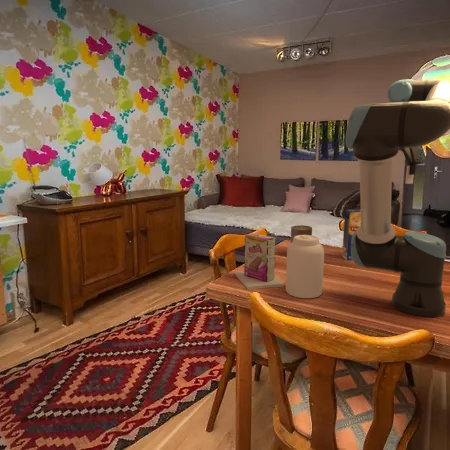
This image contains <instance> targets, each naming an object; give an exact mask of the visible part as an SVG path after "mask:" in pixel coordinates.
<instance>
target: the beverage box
mask: <svg viewBox="0 0 450 450" xmlns="http://www.w3.org/2000/svg"><path fill="white" fill-rule="evenodd" d="M343 222H344V223H343V234H342V235H343V236H342V252H341V257H342V258H343V259H345V261H348V262H349V261H353V259H352V255H351V239H352V236H353V233H354V232H355V231H357V229H358V228H359V227H360V226H361V209H344V221H343ZM353 262H354V261H353Z"/></svg>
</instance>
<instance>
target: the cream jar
mask: <svg viewBox="0 0 450 450" xmlns="http://www.w3.org/2000/svg"><path fill="white" fill-rule="evenodd" d="M324 263H325V249H324V246H323V245H322V244H321V242H320V239H319V237H317V236H315V235H313V234H312V235H297V236H295V237H294V238H293V242H292V243H291V242H290V243H289V244H288V246H287V249H286V266H285V267H286V269H285V271H286V274H285V291H286V293H287V294H288V295H290V296H292V297H295V298H299V299H315V298H318V297H320V296H321V295H322V293H323V281H324V280H323V279H324V265H325V264H324Z"/></svg>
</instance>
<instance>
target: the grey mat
mask: <svg viewBox="0 0 450 450" xmlns="http://www.w3.org/2000/svg"><path fill="white" fill-rule="evenodd" d="M234 275H235V276H236V278H238V280H239V281H240V282H241V284H242V285H243V286H244V287H245V288H246V290H257V289H258V290H259V289H269V288H277V287H285V283H284V282H283V280H281V279H279V277H278V276H276V275H275V274H274V279H273V280H271V281H269V282H264V281H261V280H258V279H255V278H251V277H248V276H245V275H244V270H240V271H234Z"/></svg>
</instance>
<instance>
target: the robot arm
mask: <svg viewBox="0 0 450 450" xmlns="http://www.w3.org/2000/svg"><path fill="white" fill-rule="evenodd" d="M386 94H387V98H388V101H389V102H383V103H379V102H378V103H373V102H371V103H367V104H359V105H356V106H355V107H353V108H352V110H351V113H350V115H349V118H348V121H347V124H346V125H347V127H346V131H345V132H346V133H345V146H346V148H347V149H349V150H352V149H353V151H352V152H353V157H354V158H355V159H356V160H357V161H359V187H360V188H359V192H360V193H359V194H360V195H359V196H360V210H361V226H360V227H359V228H358V229H357V231H355V232H354V233H353V236H352V239H351V255H352V259H353V263H354V264H356V266H360V267H363V268H367V269H373V270H374V269H375V270H382V271H389V272H395V273H399V274H400V275H399V281H398V284H397V285H396V288H395V290H394V292H393V294H392V295H391V305H392V306H393V307H394V308H395V309H397V310H399V311H401V312H403V313H406V314H409V315H412V316H417V317H418V316H419V317H425V318H435V317H437V318H438V317H441V316H443V315H445V313H446V307H447V305H446V301H445V297H444V293H443V288H442V286H443V277H444V268H445V260H446V258H447V255H446V253H447V245H446V242H445V241H444V240H443V239H442V238H439V237H437V236H435V235H431V234H428V233H424V232H418V231H406V232H404V234H403V235H397V231H396V229H395V227H394V226H393V225H391V223H392V189H393V188H392V182H393V181H392V180H393V179H392V178H393V159H394V158H395V157H397V156H398V154H399V151H400V152H402V153H403V156H404V157H405V159H406V161H407V163H408V164H407V165H406V172H405V181H404V182H405V183H404V184H405V185H406V184H407V185H408V184H409V185H412V184H414V177H415V174H416V166H417V165H420V164H422V163H421V162H422V160H421V156H420V153H419V149H418V148H420V147H423V146H426V145H429V144H431V143H432V142H434V141H436V140H438V139H440V138H441V137H443V136H444V135H446V133H448V132H449V130H450V77H448V78H437V79H430V80H429V79H426V80H415V79H400V80H396V81H394V82H393V83H392V84H391V85H390V86H389V88H388V89H387V93H386Z"/></svg>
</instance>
